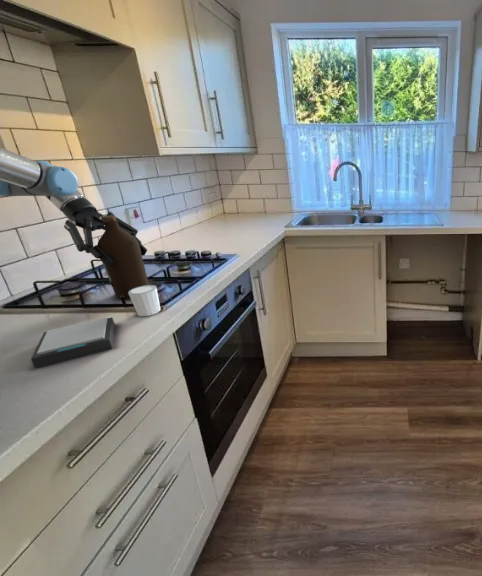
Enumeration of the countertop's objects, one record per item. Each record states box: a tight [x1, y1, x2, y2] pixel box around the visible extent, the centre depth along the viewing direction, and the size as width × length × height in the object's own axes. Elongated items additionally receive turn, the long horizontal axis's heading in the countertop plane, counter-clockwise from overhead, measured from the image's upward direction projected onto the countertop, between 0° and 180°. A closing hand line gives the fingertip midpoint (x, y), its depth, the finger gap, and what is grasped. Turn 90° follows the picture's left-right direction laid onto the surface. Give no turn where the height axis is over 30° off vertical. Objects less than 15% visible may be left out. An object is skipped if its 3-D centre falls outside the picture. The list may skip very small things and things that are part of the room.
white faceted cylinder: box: [128, 284, 161, 317], centre depth 102 cm, size 7×7×7 cm
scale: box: [30, 316, 116, 369], centre depth 87 cm, size 14×14×3 cm
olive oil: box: [96, 214, 150, 300], centre depth 112 cm, size 11×11×25 cm
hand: (128, 258), depth 111 cm, fingers closed on olive oil, 11 cm apart
